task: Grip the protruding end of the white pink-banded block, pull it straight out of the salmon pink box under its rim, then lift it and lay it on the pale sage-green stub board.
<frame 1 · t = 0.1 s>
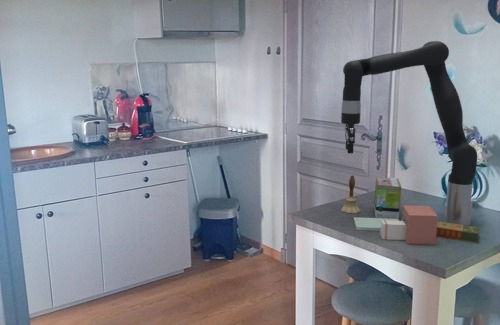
hand: (349, 151, 206), 29 cm above the table, fingers open, 8 cm apart
hand bell: (350, 211, 224), on the table
stub board: (377, 225, 204), on the table
carton: (455, 237, 193), on the table
salmon pink box: (417, 238, 191), on the table
tea box: (386, 214, 219), on the table
white pink-banded block: (398, 237, 191), on the table
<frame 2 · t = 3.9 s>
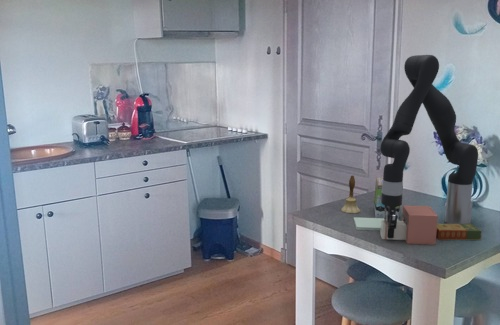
hand: (389, 235, 191), 1 cm above the table, fingers closed on white pink-banded block, 4 cm apart
white pink-banded block: (398, 237, 191), on the table, touching gripper
when the fingers open (3 cm above the table, at t = 10.5 s): white pink-banded block drops 1 cm, resting on stub board.
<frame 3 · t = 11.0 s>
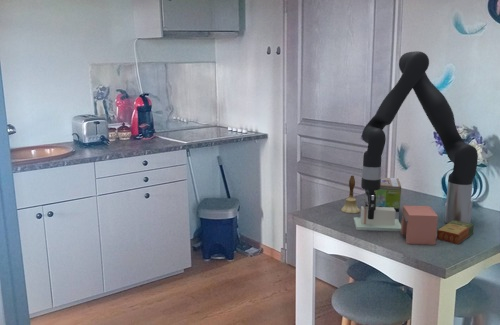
hand: (369, 215, 204), 4 cm above the table, fingers open, 8 cm apart
white pink-banded block: (377, 222, 204), point 1 cm above the table, touching stub board
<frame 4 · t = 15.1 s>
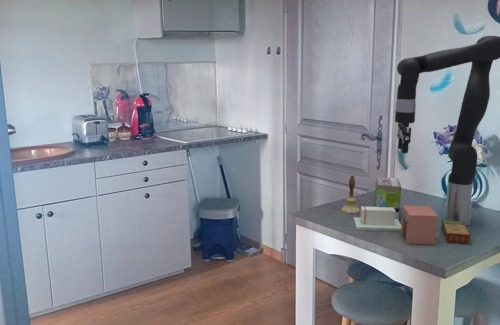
hand: (402, 150, 202), 30 cm above the table, fingers open, 8 cm apart
at the end: white pink-banded block inside the target area on the stub board (0.2 cm from its centre), point 1.2 cm above the stub board's base; white pink-banded block touching stub board; the gripper is holding nothing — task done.
